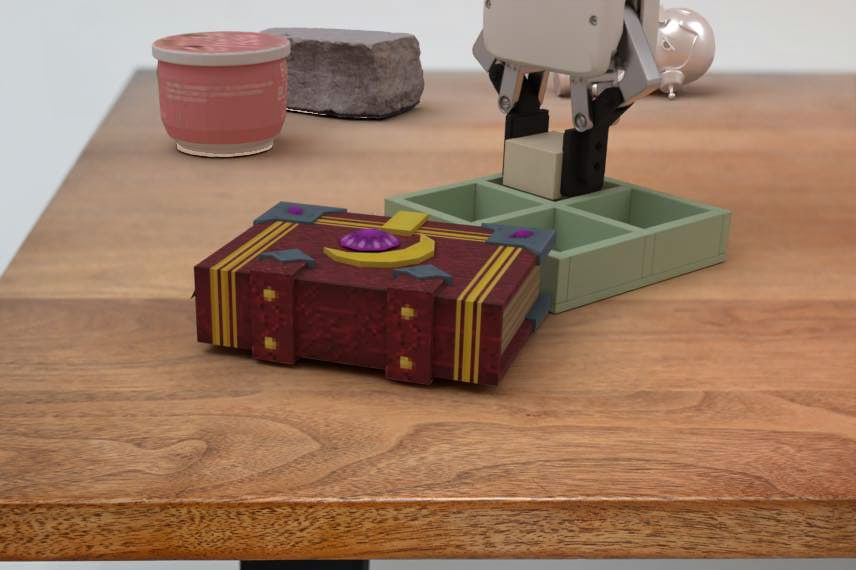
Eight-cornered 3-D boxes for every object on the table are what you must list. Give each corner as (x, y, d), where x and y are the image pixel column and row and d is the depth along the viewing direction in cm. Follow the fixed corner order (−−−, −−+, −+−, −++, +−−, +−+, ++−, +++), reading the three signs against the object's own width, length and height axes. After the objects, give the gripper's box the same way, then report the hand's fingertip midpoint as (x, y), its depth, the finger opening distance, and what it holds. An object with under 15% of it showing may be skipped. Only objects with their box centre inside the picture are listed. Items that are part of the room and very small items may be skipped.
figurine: (540, 1, 114) (703, -33, 114) (535, 49, 121) (689, 17, 120) (570, 98, 110) (739, 63, 110) (563, 142, 117) (722, 109, 117)
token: (550, 174, 79) (553, 130, 78) (601, 188, 76) (605, 143, 75) (502, 184, 77) (505, 139, 76) (552, 200, 74) (556, 153, 73)
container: (214, 124, 105) (210, 27, 102) (318, 141, 99) (317, 38, 96) (129, 150, 97) (122, 45, 94) (237, 169, 91) (233, 58, 88)
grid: (548, 206, 82) (551, 161, 81) (726, 261, 72) (732, 210, 71) (383, 246, 75) (384, 197, 74) (555, 314, 65) (559, 258, 63)
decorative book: (499, 400, 55) (505, 293, 53) (170, 350, 60) (164, 251, 58) (551, 312, 65) (557, 219, 63) (264, 276, 70) (262, 189, 68)
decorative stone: (421, 127, 105) (425, 97, 114) (422, 43, 102) (426, 20, 111) (247, 125, 107) (265, 96, 116) (243, 43, 104) (262, 20, 113)
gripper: (746, -136, 65) (703, 205, 72) (517, -143, 78) (500, 149, 85) (650, -133, 61) (615, 228, 68) (425, -141, 73) (415, 165, 81)
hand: (551, 181), depth 76 cm, fingers closed on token, 4 cm apart
